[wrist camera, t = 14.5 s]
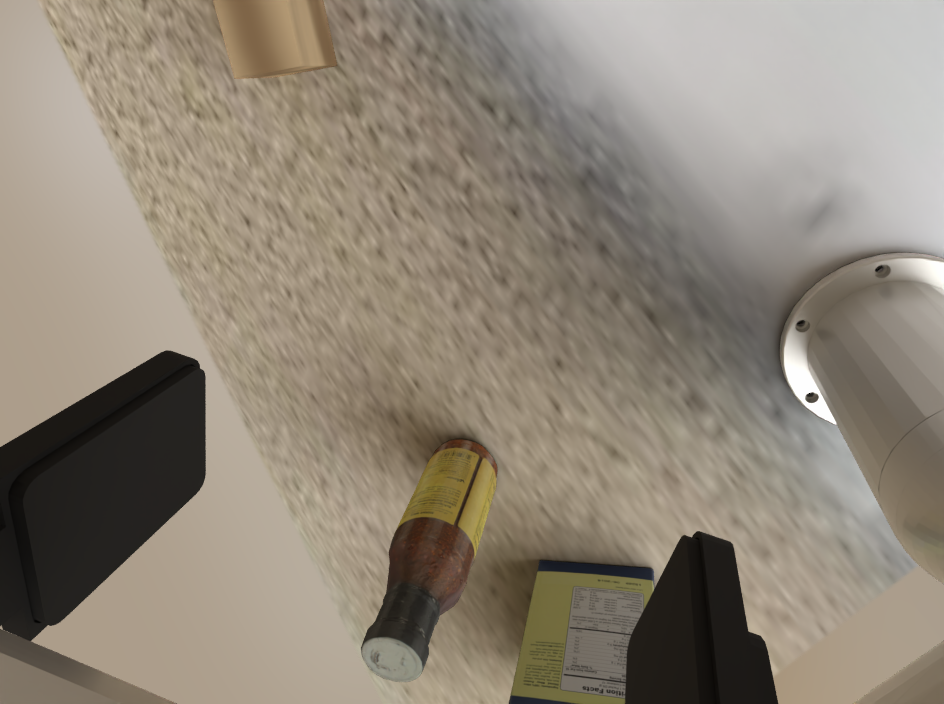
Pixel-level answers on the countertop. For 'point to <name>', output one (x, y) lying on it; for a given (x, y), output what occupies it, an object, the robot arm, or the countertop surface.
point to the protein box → (579, 633)
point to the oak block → (275, 36)
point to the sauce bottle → (431, 557)
